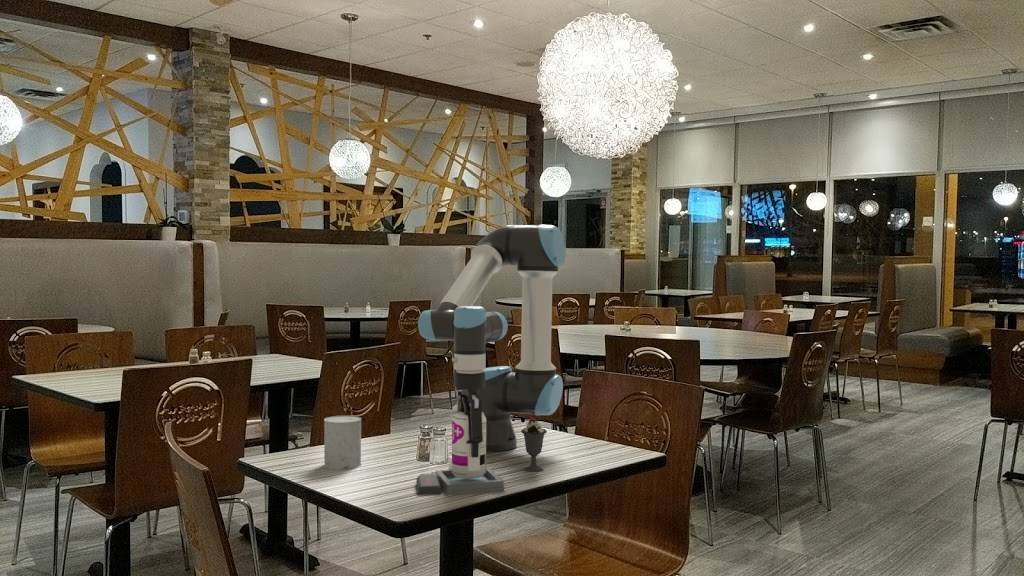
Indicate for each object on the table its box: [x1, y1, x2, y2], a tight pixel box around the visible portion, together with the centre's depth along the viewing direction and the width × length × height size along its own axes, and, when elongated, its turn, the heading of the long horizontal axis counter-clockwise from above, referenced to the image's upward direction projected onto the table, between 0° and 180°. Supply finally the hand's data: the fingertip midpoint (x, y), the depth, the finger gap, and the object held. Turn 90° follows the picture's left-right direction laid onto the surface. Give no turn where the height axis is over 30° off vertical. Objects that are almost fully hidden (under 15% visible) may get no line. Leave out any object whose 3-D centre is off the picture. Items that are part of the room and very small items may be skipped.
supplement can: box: [451, 411, 487, 479], centre depth 195 cm, size 8×8×15 cm
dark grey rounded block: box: [415, 473, 442, 496], centre depth 193 cm, size 5×12×3 cm, turn 10°
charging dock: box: [430, 455, 505, 496], centre depth 197 cm, size 14×18×5 cm
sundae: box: [520, 411, 548, 473], centre depth 211 cm, size 7×7×15 cm
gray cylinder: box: [323, 415, 362, 471], centre depth 213 cm, size 10×10×12 cm
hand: (468, 465), depth 195 cm, fingers closed on supplement can, 8 cm apart
